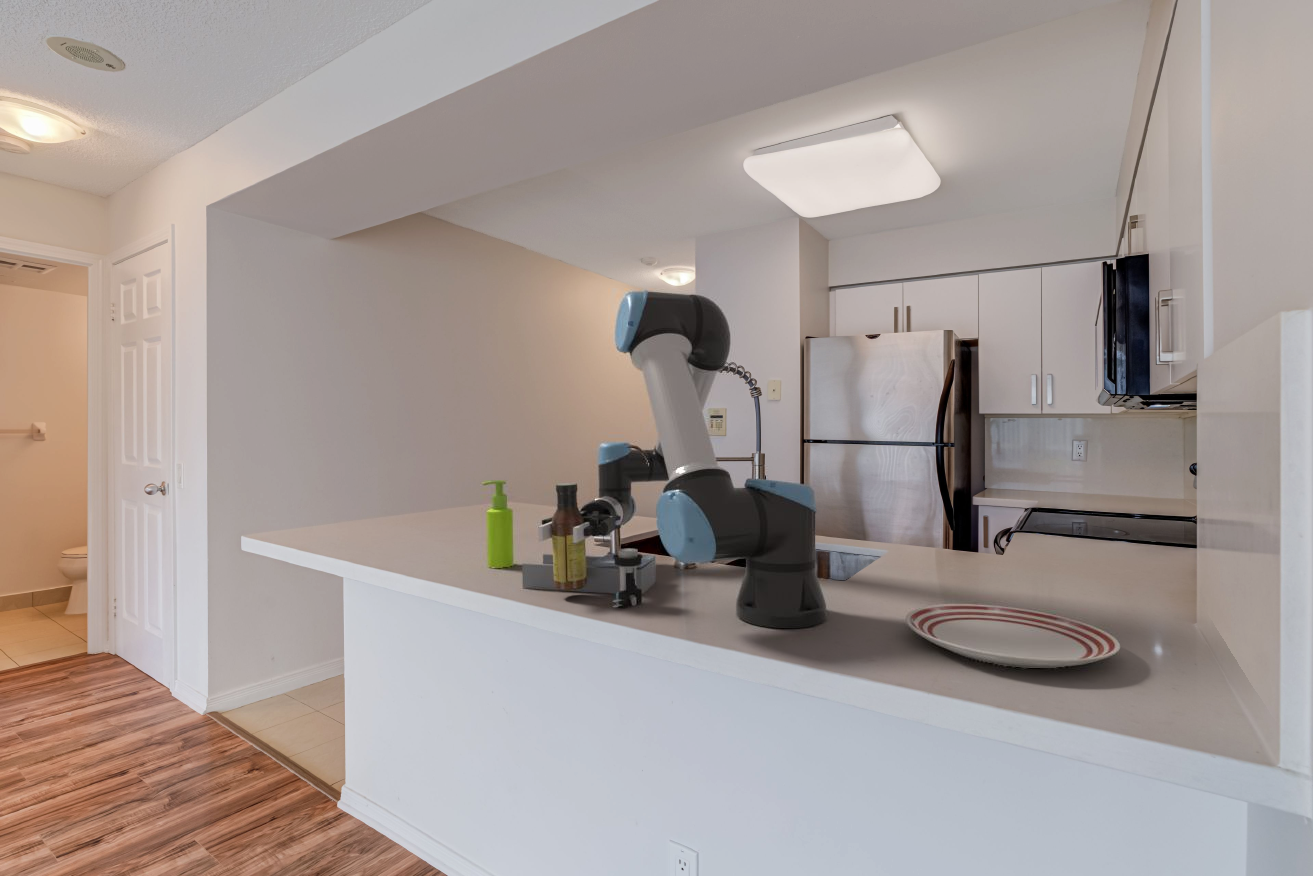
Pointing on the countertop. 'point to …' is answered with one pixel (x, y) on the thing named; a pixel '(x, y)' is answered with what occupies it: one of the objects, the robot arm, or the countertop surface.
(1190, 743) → the countertop surface
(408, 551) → the countertop surface
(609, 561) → the lid
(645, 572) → the grey shallow tray
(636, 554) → the push button
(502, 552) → the soap dispenser
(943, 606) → the dinner plate
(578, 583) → the sauce bottle
